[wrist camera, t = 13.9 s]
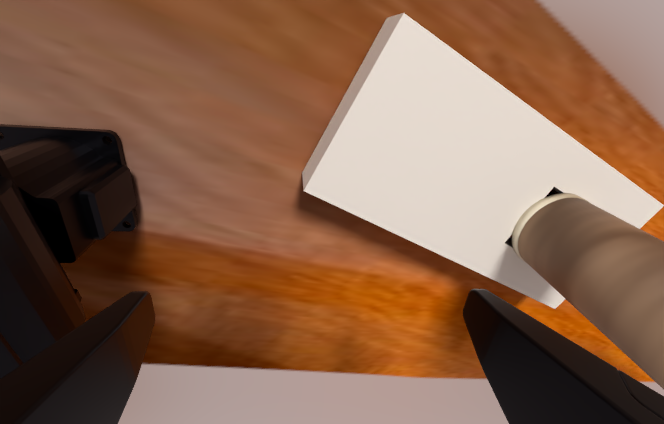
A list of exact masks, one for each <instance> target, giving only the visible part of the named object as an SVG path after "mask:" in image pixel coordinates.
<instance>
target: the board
mask: <svg viewBox="0 0 664 424" xmlns="http://www.w3.org/2000/svg"><path fill="white" fill-rule="evenodd" d="M302 177H303V190H304V191H305V192H307V193H309V194H311V195H313V196H315V197H317V198H320V199H322V200H324V201H326V202H328V203H330V204H332V205H335V206H337V207H339V208H341V209H343V210H345V211H347V212H349V213H352V214H354V215H356V216H358V217H360V218H362V219H364V220H367V221H369V222H371V223H373V224H375V225H377V226H379V227H381V228H384V229H386V230H388V231H390V232H392V233H394V234H396V235H399V236H401V237H403V238H405V239H407V240H409V241H411V242H413V243H416V244H418V245H420V246H422V247H424V248H426V249H428V250H431V251H433V252H435V253H437V254H439V255H441V256H443V257H445V258H448V259H450V260H452V261H454V262H456V263H458V264H460V265H463V266H465V267H467V268H469V269H471V270H473V271H475V272H477V273H480V274H482V275H484V276H486V277H488V278H490V279H492V280H495V281H497V282H499V283H501V284H503V285H505V286H507V287H509V288H512V289H514V290H516V291H518V292H520V293H522V294H524V295H527V296H529V297H531V298H533V299H535V300H537V301H539V302H541V303H544V304H546V305H548V306H550V307H552V308H554V309H555V308H557V307H558V306H559V305H560V304H561V303H562V302H563V301H564V300H565V298H564V297H563V296H562V295H561V294H560V293H559V292H558V291H557V290H556V289H554V288H553V287H552V286H551V285H550V284H549V283H548V282H547V281H546V280H545V279H544V278H543V277H541V276H540V275H539V274H538V273H537V272H536V271H535V270H534V269H533V268H532V267H531V266H530V265H528V264H527V263H525V262H524V261H523V260H522V259H521V258H520V257H519V256H518V255H517V254H516V253H515V251H514V250H513V247H512V238H510V236H511V235H512V233H513V230H514V227H515V225H516V223H517V221H518V220H519V218H520V217H521V216H522V215H523V213H524V212H525V211H526V210H527V209H528V208H529V207H531V206H532V205H533V204H535V203H536V202H538V201H539V200H541V199H543V198H545V197H546V195H547V194H548V193H549V192H550V191H551V190H552V189H553V190H555V191H557V192H558V193H571V194H575V195H577V196H580V197H581V198H583V199H585V200H587V201H589V202H590V203H591V204H593V205H595V206H597V207H599V208H601V209H602V210H604V211H606V212H608V213H610V214H612V215H614V216H616V217H618V218H620V219H622V220H623V221H625V222H627V223H629V224H631V225H633V226H635V227H637V228H639V229H640V228H641V227H642V226H643V225H644V224H645V223H646V222H647V221H648V220H649V219H650V218H652V217H653V216H654V215H655V214H656V213H657V212H658V211H659V210H660V209H661V208H662V207H663V206H664V205H663V204H661V203H660V202H658V201H657V200H656V199H654V198H653V197H652V196H650V195H649V194H648V193H646V192H645V191H644V190H642V189H641V188H640V187H638V186H637V185H636V184H634V183H633V182H631V181H630V180H629V179H627V178H626V177H625V176H623V175H622V174H621V173H619V172H618V171H617V170H615V169H614V168H613V167H611V166H610V165H609V164H607V163H606V162H604V161H603V160H602V159H600V158H599V157H598V156H596V155H595V154H594V153H592V152H591V151H590V150H588V149H587V148H586V147H584V146H583V145H582V144H580V143H579V142H577V141H576V140H575V139H573V138H572V137H571V136H569V135H568V134H567V133H565V132H564V131H563V130H561V129H560V128H559V127H557V126H556V125H554V124H553V123H552V122H550V121H549V120H548V119H546V118H545V117H544V116H542V115H541V114H540V113H538V112H537V111H536V110H534V109H533V108H532V107H530V106H529V105H527V104H526V103H525V102H523V101H522V100H521V99H519V98H518V97H517V96H515V95H514V94H513V93H511V92H510V91H509V90H507V89H506V88H505V87H503V86H502V85H500V84H499V83H498V82H496V81H495V80H494V79H492V78H491V77H490V76H488V75H487V74H486V73H484V72H483V71H482V70H480V69H479V68H478V67H476V66H475V65H473V64H472V63H471V62H469V61H468V60H467V59H465V58H464V57H463V56H461V55H460V54H459V53H457V52H456V51H455V50H453V49H452V48H451V47H449V46H448V45H446V44H445V43H444V42H442V41H441V40H440V39H438V38H437V37H436V36H434V35H433V34H432V33H430V32H429V31H428V30H426V29H425V28H423V27H422V26H421V25H419V24H418V23H417V22H415V21H414V20H413V19H411V18H410V17H409V16H407V15H406V14H405V13H402V14H398V15H395V16H392V17H388V18H387V19H386V20H385V22H384V24H383V26H382V28H381V30H380V31H379V33H378V35H377V37H376V39H375V41H374V42H373V44H372V46H371V48H370V50H369V52H368V53H367V55H366V57H365V59H364V61H363V62H362V64H361V66H360V68H359V70H358V72H357V73H356V75H355V77H354V79H353V81H352V83H351V84H350V86H349V88H348V90H347V92H346V94H345V95H344V97H343V99H342V101H341V103H340V104H339V106H338V108H337V110H336V112H335V114H334V115H333V117H332V119H331V121H330V123H329V125H328V126H327V128H326V130H325V132H324V134H323V136H322V137H321V139H320V141H319V143H318V145H317V147H316V148H315V150H314V152H313V154H312V156H311V157H310V159H309V161H308V163H307V165H306V167H305V168H304V170H303V172H302Z"/></svg>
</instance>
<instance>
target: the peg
mask: <svg viewBox="0 0 664 424" xmlns="http://www.w3.org/2000/svg"><path fill="white" fill-rule="evenodd" d="M512 247H513V250H514V251H515V253H516V254H517V255H518V256H519V257H520V258H521V259H522V260H523V261H524V262H525V263H527V264H528V265H530V266H531V267H532V268H533V269H534V270H535V271H536V272H537V273H538V274H539V275H540V276H541V277H543V278H544V279H545V280H546V281H547V282H548V283H549V284H550V285H551V286H552V287H553V288H554V289H556V290H557V291H558V292H559V293H560V294H561V295H562V296H563V297H564V298H565V299H566V300H567V301H569V302H570V303H571V304H572V305H573V306H574V307H575V308H576V309H577V310H578V311H579V312H580V313H582V314H583V315H584V316H585V317H586V318H587V319H588V320H589V321H590V322H591V323H592V324H593V325H595V326H596V327H597V328H598V329H599V330H600V331H601V332H602V333H603V334H604V335H605V336H606V337H608V338H609V339H610V340H611V341H612V342H613V343H614V344H615V345H616V346H617V347H618V348H619V349H621V350H622V351H623V352H624V353H625V354H626V355H627V356H628V357H629V358H630V359H631V360H632V361H634V362H635V363H636V364H637V365H638V366H639V367H640V368H641V369H642V370H643V371H644V372H646V373H647V374H648V375H649V376H650V377H651V378H652V379H653V380H654V381H655V382H656V383H657V384H659V385H660V386H661V387H662V388H663V389H664V242H663V241H662V240H660V239H658V238H656V237H654V236H652V235H650V234H648V233H646V232H644V231H642V230H641V229H639V228H637V227H635V226H633V225H631V224H629V223H627V222H625V221H623V220H622V219H620V218H618V217H616V216H614V215H612V214H610V213H608V212H606V211H604V210H602V209H601V208H599V207H597V206H595V205H593V204H591V203H590V202H589V201H587V200H585V199H583V198H581V197H580V196H577V195H575V194H571V193H559V194H554V195H550V196H548V197H545V198H543V199H541V200H539V201H538V202H536V203H535V204H533V205H532V206H531V207H529V208H528V209H527V210H526V211H525V212H524V213H523V215H522V216H521V217H520V218H519V220H518V221H517V223H516V225H515V227H514V230H513V233H512Z"/></svg>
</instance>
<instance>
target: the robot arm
mask: <svg viewBox="0 0 664 424" xmlns="http://www.w3.org/2000/svg"><path fill="white" fill-rule="evenodd" d="M0 132H1V133H2V134H3V135H4V137H2V136H0V424H118V422H119V419H120V417H121V415H122V413H123V410H124V408H125V406H126V403H127V401H128V399H129V397H130V394H131V392H132V390H133V387H134V385H135V382H136V380H137V377H138V374H139V370H140V368H141V364H142V361H143V358H144V355H145V352H146V348H147V345H148V342H149V339H150V336H151V332H152V329H153V326H154V322H155V313H154V308H153V304H152V299H151V295H150V293H149V292H147V291H134V292H130V293H129V294H127V295H125V296H124V297H122V298H121V299H119V300H118V301H116V302H115V303H113V304H112V305H110V306H109V307H107V308H106V309H104V310H103V311H101V312H100V313H98V314H97V315H95V316H94V317H92V318H91V319H89V320H88V321H86V322H85V323H84V321H85V315H84V311H83V307H82V305H81V303H80V302H81V296H80V294H79V292H78V290H77V289H74V288H73V286H72V285H71V283H70V281H69V279H68V277H67V275H66V274H65V272H64V270H63V268H62V266H61V265H60V263H72V262H74V261H75V260H76V259H78V258H79V257H80V256H81V255H82V254H83V253H84V252H85V251H86V250H87V249H88V248H89V247H90V246H91V245H92V244H93V243H94V242H95V241H96V240H102V239H104V238H105V237H106V236H107V235H108V234H109V233H110V232H111V231H132V230H134V228H135V227H136V226H137V224H138V221H137V217H136V212H135V206H136V205H137V202H136V198H135V193H134V188H133V183H132V179H131V174H130V169H129V168H128V167H127V166H126V165H125V160H124V156H123V151H122V146H121V142H120V138H119V136H118V135H117V134H116V133H115V132H113V131H111V130H98V129H79V128H60V127H41V126H22V125H3V124H0ZM106 136H108V137H110V138H111V139H112V143H110V142H108V141H107V140H106ZM125 221H128V222H129V223H130V224H131V225H128V224H126V222H125ZM463 318H464V321H465V323H466V326H467V329H468V331H469V334H470V337H471V340H472V342H473V345H474V348H475V351H476V353H477V356H478V359H479V361H480V364H481V366H482V368H483V371H484V373H485V375H486V377H487V379H488V381H489V383H490V385H491V387H492V389H493V391H494V393H495V396H496V398H497V400H498V402H499V404H500V406H501V408H502V410H503V412H504V414H505V416H506V418H507V420H508V422H509V424H664V396H662V395H660V394H658V393H657V392H655V391H654V390H652V389H650V388H649V387H647V386H645V385H643V384H642V383H640V382H638V381H637V380H635V379H633V378H632V377H630V376H628V375H627V374H625V373H624V372H622V371H620V370H617V369H616V368H615V367H613V366H612V365H610V364H609V363H607V362H605V361H604V360H602V359H600V358H599V357H597V356H595V355H594V354H592V353H590V352H589V351H587V350H585V349H584V348H582V347H580V346H579V345H577V344H575V343H574V342H572V341H570V340H569V339H567V338H565V337H564V336H562V335H560V334H559V333H557V332H556V331H554V330H552V329H551V328H549V327H547V326H546V325H544V324H542V323H541V322H539V321H537V320H536V319H534V318H532V317H531V316H529V315H527V314H526V313H524V312H522V311H521V310H519V309H517V308H516V307H514V306H512V305H511V304H509V303H507V302H506V301H504V300H503V299H501V298H499V297H498V296H496V295H494V294H493V293H491V292H489V291H488V290H486V289H472V290H471V291H470V292H469V294H468V297H467V300H466V302H465V305H464V308H463Z"/></svg>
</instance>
